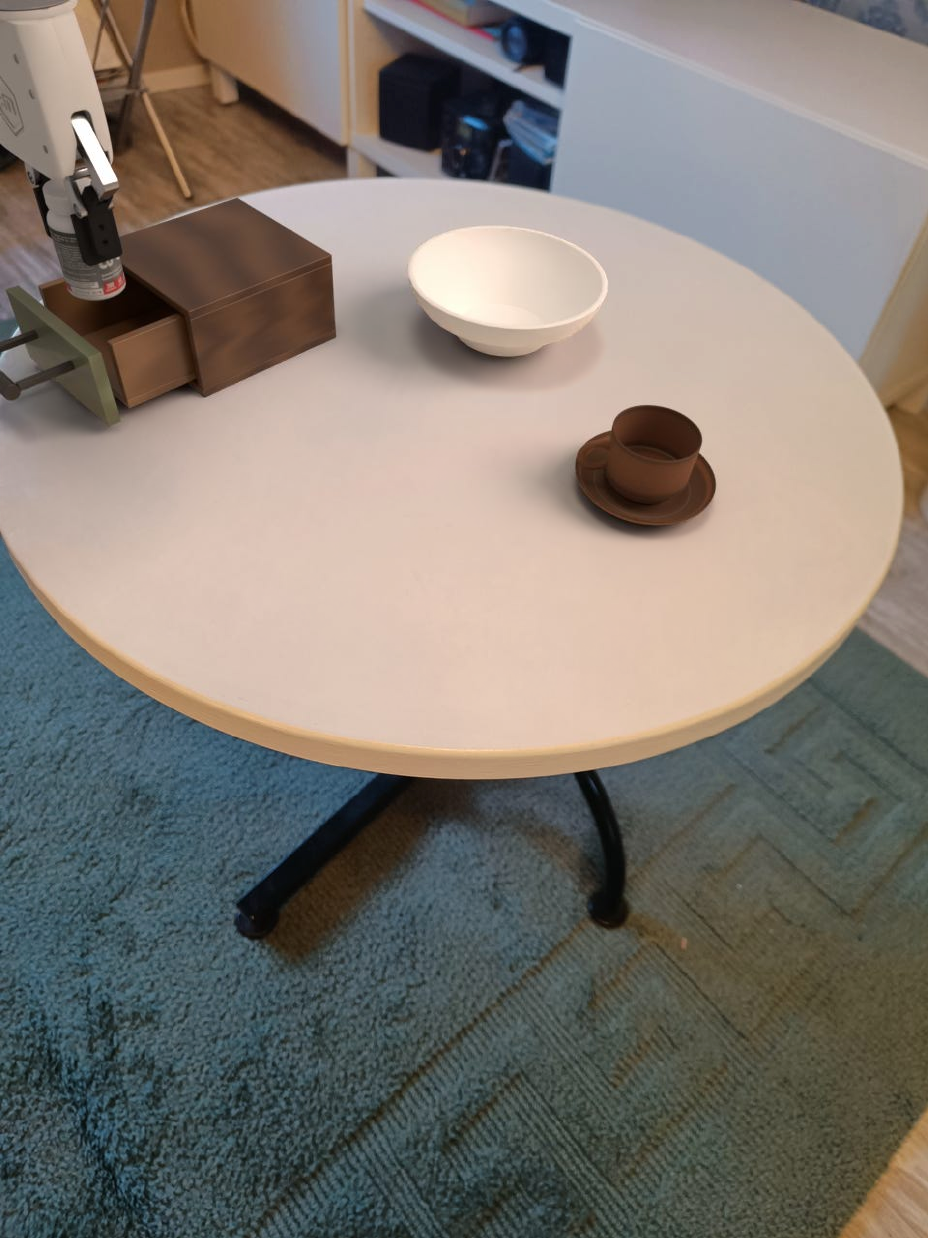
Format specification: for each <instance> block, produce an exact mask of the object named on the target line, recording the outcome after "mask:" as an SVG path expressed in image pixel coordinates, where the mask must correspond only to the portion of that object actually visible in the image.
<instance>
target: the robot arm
mask: <svg viewBox="0 0 928 1238" xmlns="http://www.w3.org/2000/svg"><path fill="white" fill-rule="evenodd" d="M78 3H79V0H0V145H1V146H2V147H3V148H4V149H6V150H7V151H8V152H10V153H12V154H13V155H14V156H16V157H18V159H20V160H21V161H23V163H24V168H25V173H26V176H27V179H28V181H29V183H30V184H31V186H33V188H32V190H33V194H34V198H35V200H36V204H37V207H38V210H39V214H40V217H41V221H42V223H43V226H44V230H45V233H46V235H47V236H48V238H50V239H52V236H51V233H50V230H49V227H48V223H47V213H48V211H49V210H50V209H49V208H48V206H47V205H46V202H45V197H44V193H43V186H44V184H45V183H46V182H48V181H49V180H51V179H52V180H54V181H58V182H60V181H63V183H64V186H65V189H66V191H67V194H68V196H69V199H70V202H71V204H72V207H73V210H74V212H75V214H71V215H70V217H71V221H72V224H73V228H74V231H75V235H76V238H77V242H78V245H79V249H80V253H81V256H82V260H83V262H84V263H85V264H86V265H88V266H94V265H97V264H100V263H103V262H106V261H108V260H111V259H114V258H117V257H120V256H121V255H122V247H121V243H120V239H119V237H120V235H119V231H118V226H117V223H116V219H115V215H114V211H113V209H114V208H115V204H114V203H115V202H114V200H113V199H114V195H115V194H116V193H117V191H119V189H120V183H119V180H118V178H117V176H116V174H115V172H114V169H113V168H112V164H113V161H114V152H113V151H114V150H113V144H112V140H111V135H110V129H109V125H108V121H107V117H106V113H105V108H104V104H103V102H102V98H101V97H102V96H101V94H100V90H99V86H98V83H97V79H96V76H95V72H94V68H93V65H92V62H91V59H90V55H89V53H88V50H87V46H86V43H85V40H84V37H83V34H82V30H81V28H80V25H79V22H78V19H77V16H76V13H75V11H74V9H75V8H76V7H77V6H78ZM77 160H82V162H83V163H84V165H80V166H78V167H76V161H77ZM85 177H87V178H89V177H90V179H91V182H90V185H89V186H86V187H84V190H83V192H82V195H81V193H80V190H79V187H78V185H77V182H76V180H78V179H82V178H85Z"/></svg>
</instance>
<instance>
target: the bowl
mask: <svg viewBox="0 0 928 1238" xmlns="http://www.w3.org/2000/svg"><path fill="white" fill-rule="evenodd" d="M407 278H408V282H409V285H410V288H411V291H412V292H413V295H414V297H415V300H416V302H417V303H418V305H420V307H421V308H422V309H423V310H424V312H425V313H426V315H427V316H428V317H429V318H430V319H431V320H432V321H433V322H435V323H436V324H437V325H438V326H439V327H440V328H442V329H444V330H446V331H448V332H449V333H451V334H453V335H454V336H457V338H458V339H459V340H460V341H461V342H463V344H465V345H466V346H468V347H469V348H471V349H473V350H474V351H477V352H479V353H482V354H486V355H490V356H497V357H510V358H511V357H522V356H525V355H529V354H531V353H534V352H537V351H538V350H539V349H541V348H543V347H544V346H545V345H549V344H554V343H557V342H559V341H562V340H565V339H567V338H569V337H571V336H573V335H575V334H576V333H577V332H579V331H580V330H581V329H582V328H583V327H585V326H586V325H587V324H588V323H589V322H590V321H591V320H592V319H593V318H594V317H595V316H596V315H597V313H598V312H599V310H600V309H601V307H602V305H603V303H604V301H605V299H606V297H607V294H608V289H609V280H608V277H607V274H606V271H605V270H604V268H603V267H602V266H601V264H600V263H599V261H598V260H596V259H595V257H593V256H592V255H591V254H590V253H589V252H587V251H586V250H584V249H583V248H581V247H580V246H578V245H576V244H574V243H573V242H570V241H568V240H566V239H564V238H562V237H560V236H557V235H553V234H550V233H547V232H544V231H540V230H536V229H531V228H526V227H519V226H512V225H495V224H494V225H493V224H492V225H491V224H490V225H489V224H488V225H474V226H467V227H461V228H455V229H452V230H448V231H445V232H442V233H439V234H437V235H435V236H432V237H430V238H429V239H427V240H426V241H424V242H423V243H421V244H420V245H419V246H417V247H416V249H415V250H414V251H413V252H412V253H411V255H410V257H409V259H408V263H407Z"/></svg>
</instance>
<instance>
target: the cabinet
mask: <svg viewBox="0 0 928 1238" xmlns="http://www.w3.org/2000/svg"><path fill="white" fill-rule="evenodd" d="M119 239H120V243H121V247H122V255H121V256H120V260H121V264H122V269H123V271H124V272H125V273H127V274H128V275H129V276H131V277H132V278H133V279H135V280H136V281H138V282H139V283H140V284H142V285H143V286H144V287H146V288H147V289H148V290H150V291H151V292H153V293H154V294H155V295H157V296H158V297H159V298H161V299H162V300H164V301H165V302H166V303H168V304H169V305H170V306H172V307H173V308H175V309H176V310H177V311H179V312H180V313H181V314H183V315H184V316H186V317H185V319H186V324H187V329H188V334H189V339H190V344H191V350H192V355H193V360H194V365H195V370H196V375H197V379H194V380H192V381H190V382H188V383H186V384H187V385H189V386H190V387H191V388H193V389H194V391H196V392H197V393H199V394H200V395H201V396H203V397H204V398H206V397H208V396H211V395H213V394H215V393H217V392H219V391H222V390H224V389H226V388H228V387H230V386H232V385H234V384H236V383H239V382H241V381H243V380H245V379H248V378H251V377H252V376H254V375H256V374H258V373H261V372H263V371H265V370H267V369H269V368H271V367H274V366H276V365H278V364H280V363H282V362H284V361H287V360H289V359H290V358H294V357H296V356H298V355H300V354H301V353H305V352H306V351H308V350H311V349H313V348H315V347H317V346H319V345H321V344H324V343H325V342H329V341H330V340H333V339H335V338H336V337H337V329H336V311H335V293H334V273H333V255H332V254H331V253H330V252H328V251H326V250H325V249H323V248H321V247H320V246H318V245H317V244H315V243H313V242H311V241H310V240H308V239H307V238H305V237H303V236H301V235H300V234H298V233H296V232H295V231H293V230H292V229H290V228H288V227H286V226H285V225H283V224H282V223H280V222H278V221H277V220H275V219H273V218H272V217H270V216H268V215H267V214H266V213H263V212H262V211H260V210H259V209H257V208H255V207H254V206H252V205H250V204H248V203H247V202H245V201H244V200H242V199H241V198H239V197H235V198H232V199H228V200H226V201H222V202H220V203H217V204H213V205H211V206H208V207H205V208H202V209H199V210H196V211H193V212H190V213H187V214H184V215H180V216H178V217H175V218H172V219H170V220H165V221H163V222H160V223H157V224H154V225H151V226H148V227H144V228H141V229H138V230H136V231H133V232H129V233H127V234H123V235H121V236H120V235H119Z"/></svg>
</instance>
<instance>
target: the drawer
mask: <svg viewBox="0 0 928 1238" xmlns="http://www.w3.org/2000/svg"><path fill="white" fill-rule="evenodd" d="M123 273H124V276H125V282H126V284H125V288H124V289H123V290H122V291H121V292H120V293H119V294H118V295H116V296H114V297H112V298H109V299H105V300H98V301H92V300H84V299H80V298H77V297H75V296H73V295H72V294H71V293H70V292H69V291H68V289H67V286H66V283H65V279H64V276H61V277H58V278H55V279H53V280H49V281H47V282H44V283H41V284H38V285H37V288H38V292H39V294H40V297H41V300H42V303H43V304H42V303H41V302H40V301H38V299H36V297H35V298H34V296H32V294H30V293H29V292H27V291H26V290H25V289H24V288H22V287H21V286H20V285H19V284H17V285H14V286H11V287H9V288H8V287H7V288H6V289H5V292H6V295H7V299H8V301H9V303H10V306H11V309H12V312H13V315H14V318H15V319H16V324H17V325H18V328H19V331H20V333H21V334H18V335H15V336H13V337H9V338H6V339H4V340H1V341H0V354H1V353H3V352H6V351H9V350H11V349H15V348H17V347H20V346H22V345H25V348H26V350H27V353H28V356H29V358H30V359H31V360H32V361H33V362H34V363H35V364H36V365H38V366H39V367H40V368H42V371H38V372H37V373H34V374H31V375H29V376H27V377H24V378H22V379H19V380H16V381H13V380H12V379H11V378H10V377H9V376H8V375H6V374H5V372H3V371H2V370H1V369H0V395H1V396H2V397H3V398H4V399H5V400H7V401H12V402H13V401H16V400H17V399H19V397H20V396H21V394H22V393H21V392H23V391H25V390H27V389H30V388H32V387H35V386H37V385H40V384H42V383H44V382H47V381H49V380H55V381H56V382H57V383H58V384H59V385H60V386H61V387H62V388H64V389H65V390H66V391H67V392H68V393H69V394H71V395H72V396H73V397H74V398H75V399H76V400H78V402H80V403H81V404H82V405H83V406H84V407H86V408H87V409H88V411H90V412H91V413H92V414H94V415H95V417H97V418H98V419H99V420H101V422H103V423H104V424H105V425H106V426H107V427H111V426H113V425H116V424H118V423H120V422H121V420H122V419H121V417H120V413H119V409H118V406H117V402H116V400H115V398H116V399H118V400H119V401H120V403H122V404H123V405H125V406H126V407H127V408H128V409H131V408H134V407H136V406H139V405H140V404H143V403H145V402H148V401H149V400H152V399H154V398H157V397H158V396H161V395H163V394H166V393H167V392H170V391H172V390H174V389H176V388H179V387H181V386H183V385H185V384H187V383H188V382H190V381H192V380H194V379H197V375H196V370H195V365H194V360H193V355H192V350H191V344H190V339H189V334H188V329H187V324H186V319H185V317H186V316H184V315H183V314H181V313H180V312H179V311H177V310H176V309H175V308H173V307H172V306H170V305H169V304H168V303H166V302H165V301H164V300H162V299H161V298H159V297H158V296H157V295H155V294H154V293H153V292H151V291H150V290H148V289H147V288H146V287H144V286H143V285H142V284H140V283H139V282H138V281H136V280H135V279H133V278H132V277H131V276H129V275H128V274H127V273H125V272H124V271H123Z"/></svg>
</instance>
